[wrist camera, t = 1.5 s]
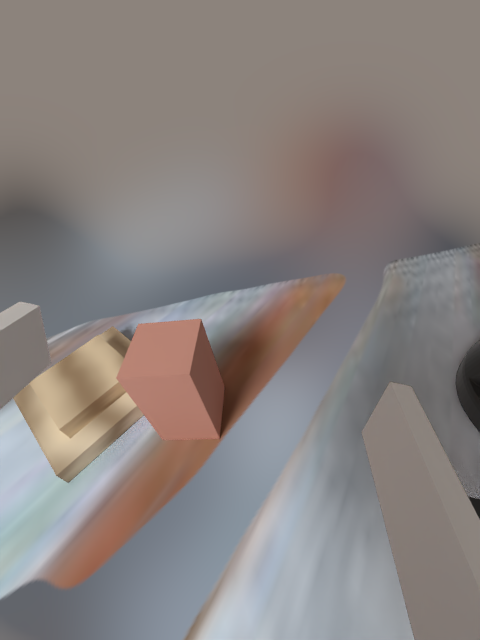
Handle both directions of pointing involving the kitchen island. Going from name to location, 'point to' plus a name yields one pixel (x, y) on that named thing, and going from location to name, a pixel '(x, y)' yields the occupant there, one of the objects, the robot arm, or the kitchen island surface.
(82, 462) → the plinth
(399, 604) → the kitchen island surface
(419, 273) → the kitchen island surface
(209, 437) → the pillar
